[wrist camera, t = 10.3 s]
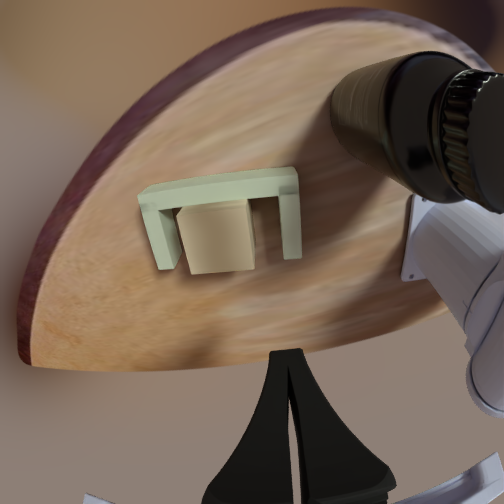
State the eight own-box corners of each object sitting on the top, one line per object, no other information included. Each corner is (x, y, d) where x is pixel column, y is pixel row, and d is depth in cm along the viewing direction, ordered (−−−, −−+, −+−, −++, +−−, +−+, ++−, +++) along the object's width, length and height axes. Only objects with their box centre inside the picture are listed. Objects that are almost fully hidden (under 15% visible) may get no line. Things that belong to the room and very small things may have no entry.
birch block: (248, 187, 18) (245, 207, 15) (255, 239, 20) (254, 269, 17) (192, 194, 19) (176, 216, 15) (203, 244, 21) (191, 274, 17)
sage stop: (293, 166, 17) (298, 174, 15) (297, 241, 20) (302, 258, 18) (150, 184, 18) (137, 195, 16) (168, 253, 21) (158, 269, 19)
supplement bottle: (368, 182, 18) (473, 280, 7) (306, 105, 15) (388, 103, 5) (432, 128, 15) (561, 177, 5) (378, 50, 13) (506, 16, 2)
